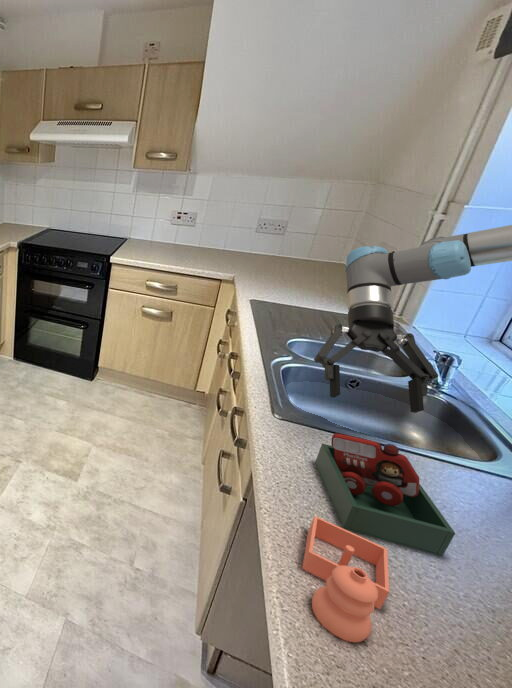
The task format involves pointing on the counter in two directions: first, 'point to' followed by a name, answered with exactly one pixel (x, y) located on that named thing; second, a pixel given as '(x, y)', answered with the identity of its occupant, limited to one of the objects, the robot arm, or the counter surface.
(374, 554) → the pottery
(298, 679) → the counter surface
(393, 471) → the toy fire truck
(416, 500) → the toy tray
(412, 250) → the robot arm
